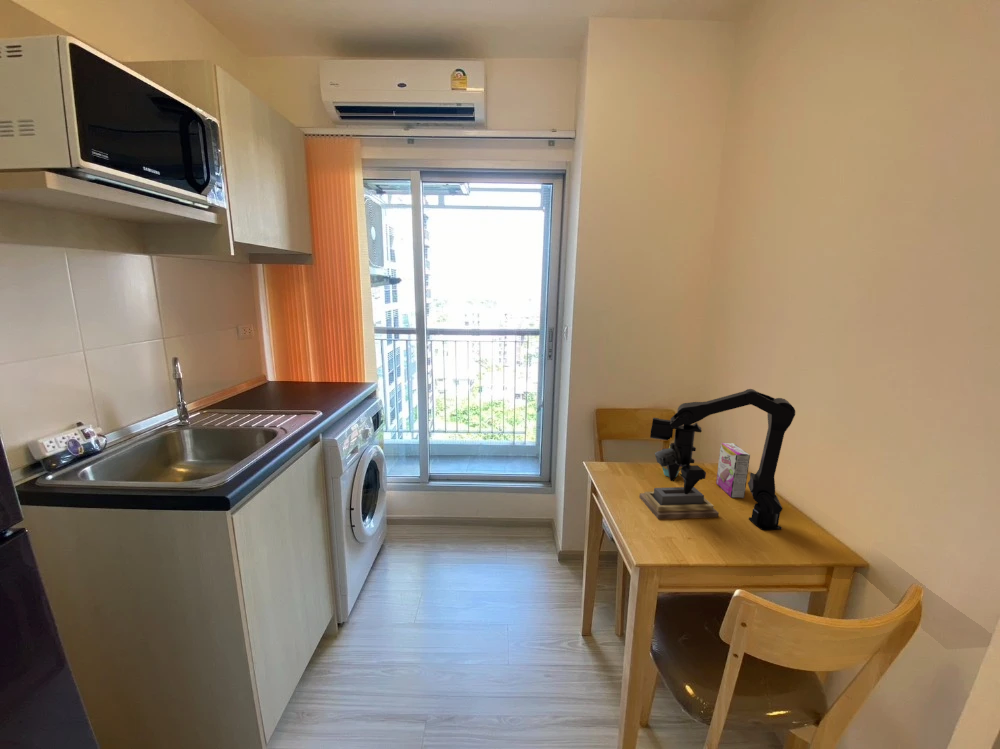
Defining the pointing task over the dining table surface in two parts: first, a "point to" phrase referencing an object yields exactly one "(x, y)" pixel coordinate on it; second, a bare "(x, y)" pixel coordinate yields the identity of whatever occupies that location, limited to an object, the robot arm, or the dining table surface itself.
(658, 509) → the walnut board
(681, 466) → the cupcake
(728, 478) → the candy bar box
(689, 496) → the dark gray frame
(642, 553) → the dining table surface
